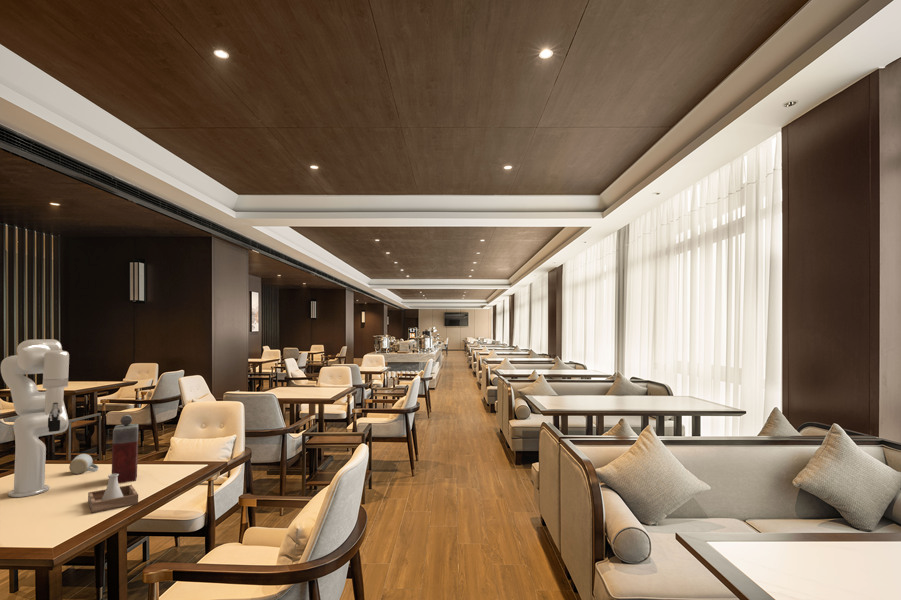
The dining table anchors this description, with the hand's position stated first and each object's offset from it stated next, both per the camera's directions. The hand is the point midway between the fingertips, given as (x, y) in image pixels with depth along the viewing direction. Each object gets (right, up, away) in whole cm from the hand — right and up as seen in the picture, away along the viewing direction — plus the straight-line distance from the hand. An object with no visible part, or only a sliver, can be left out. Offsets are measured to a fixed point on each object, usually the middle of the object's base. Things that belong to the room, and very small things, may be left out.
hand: (53, 429), depth 185 cm
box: (+22, -28, +1) cm, 36 cm away
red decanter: (+6, -30, +31) cm, 44 cm away
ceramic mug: (-21, -31, +43) cm, 57 cm away
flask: (+21, -28, +1) cm, 35 cm away
